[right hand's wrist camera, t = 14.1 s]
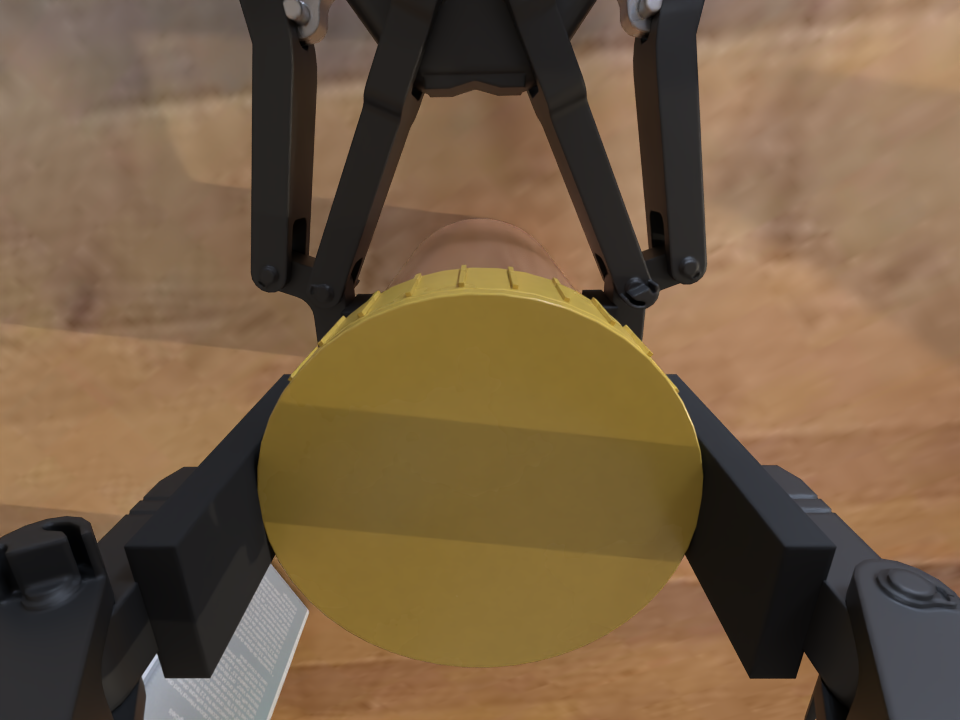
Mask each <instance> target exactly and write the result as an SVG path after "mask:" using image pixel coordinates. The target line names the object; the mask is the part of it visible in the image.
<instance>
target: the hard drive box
mask: <svg viewBox="0 0 960 720" xmlns="http://www.w3.org/2000/svg"><path fill="white" fill-rule="evenodd" d="M308 615H309V610H308V609H307V608H306V606H305V605H304V604H303V603H302V601H301V600H300V599H299V598H298V597H297V595H296V594H295V593H294V592H293V590H292V589H291V588H290V587H289V585H288V584H287V583H286V582H285V580H284V579H283V578H282V577H281V576H280V574H279V573H278V572H277V571H276V569H275V568H274V567H273V566H272V565H271V564H270V566H269V567H268V569H267V571H266V573H265V575H264V577H263V579H262V581H261V583H260V585H259V587H258V588H257V590H256V592H255V594H254V596H253V598H252V600H251V602H250V604H249V606H248V608H247V609H246V611H245V613H244V615H243V617H242V619H241V621H240V623H239V625H238V627H237V629H236V630H235V632H234V634H233V636H232V638H231V640H230V642H229V644H228V646H227V648H226V650H225V652H224V653H223V655H222V657H221V659H220V661H219V663H218V665H217V667H216V669H215V671H214V673H213V674H212V676H211V678H164V675H163V671H162V668H161V665H160V662H159V658H158V655H157V654H156V655H155V657H154V658H153V660H152V661H151V663H150V664H149V666H148V667H147V669H146V670H145V672H144V673H143V675H142V679H143V682H144V685H145V691H146V704H145V713H144V720H270V719H271V717H272V714H273V711H274V708H275V706H276V703H277V700H278V697H279V695H280V692H281V689H282V686H283V684H284V681H285V678H286V675H287V673H288V670H289V667H290V664H291V662H292V659H293V656H294V653H295V650H296V648H297V645H298V642H299V639H300V636H301V634H302V631H303V628H304V625H305V623H306V620H307V617H308Z"/></svg>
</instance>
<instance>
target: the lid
mask: <svg viewBox="0 0 960 720" xmlns="http://www.w3.org/2000/svg"><path fill="white" fill-rule="evenodd" d="M317 344H318V345H319V346H320V347H319V348H318V347H316V348H315V349H314V350H313V351H312V352H311V353H310V354H309V355H308V357H307V358H306V359H305V360H304V361H303V362H302V363H301V364H300V366H299V367H298V368H297V369H296V370H295V371H294V372H293V373H292V374H291V376H290V377H289V378H288V381H290V383H289V384H288V386H287V387H286V388H285V390H284V391H283V392H282V394H281V396H280V398H279V400H278V402H277V404H276V406H275V408H274V410H273V412H272V413H271V415H270V417H269V420H268V423H267V426H266V429H265V433H264V436H263V439H262V442H261V447H260V454H259V460H258V466H257V491H258V497H259V502H260V508H261V514H262V519H263V523H264V528H265V531H266V534H267V537H268V540H269V542H270V544H271V546H272V548H273V550H274V552H275V555H276V557H277V559H278V561H279V563H280V564H281V565H282V567H283V568H284V570H285V571H286V573H287V574H288V576H289V577H290V579H291V580H292V582H293V583H294V584H295V585H296V586H297V588H298V589H299V590H300V591H301V592H302V593H303V595H304V596H305V597H306V598H307V599H308V600H309V601H310V602H311V603H312V604H313V605H314V606H316V607H317V608H318V609H319V610H320V611H321V612H322V613H323V614H324V615H326V616H327V617H328V618H330V619H331V620H332V621H334V622H335V623H337V624H338V625H340V626H341V627H342V628H344V629H345V630H347V631H348V632H350V633H352V634H354V635H356V636H357V637H359V638H361V639H363V640H365V641H366V642H368V643H371V644H373V645H375V646H378V647H380V648H382V649H385V650H387V651H390V652H392V653H396V654H399V655H402V656H405V657H408V658H412V659H415V660H420V661H425V662H430V663H434V664H440V665H449V666H458V667H487V668H488V667H501V666H514V665H519V664H525V663H531V662H537V661H541V660H544V659H548V658H551V657H555V656H559V655H562V654H565V653H567V652H570V651H573V650H575V649H578V648H580V647H583V646H585V645H587V644H589V643H591V642H593V641H595V640H597V639H599V638H601V637H603V636H605V635H607V634H608V633H610V632H611V631H613V630H615V629H616V628H618V627H619V626H621V625H622V624H624V623H625V622H627V621H628V620H629V619H630V618H632V617H633V616H634V615H635V614H637V613H638V612H639V611H640V610H641V609H643V608H644V607H645V606H646V605H647V604H648V603H649V602H650V601H651V600H652V599H653V598H654V597H655V596H656V595H657V594H658V593H659V591H660V590H661V589H662V588H663V587H664V586H665V584H666V583H667V582H668V580H669V579H670V577H671V576H672V575H673V573H674V572H675V571H676V569H677V568H678V566H679V564H680V562H681V560H682V558H683V557H684V555H685V553H686V551H687V549H688V547H689V545H690V542H691V539H692V537H693V534H694V531H695V529H696V525H697V520H698V515H699V510H700V504H701V499H702V490H703V469H702V459H701V450H700V447H699V443H698V439H697V435H696V432H695V428H694V425H693V423H692V420H691V418H690V416H689V414H688V412H687V409H686V407H685V405H684V403H683V401H682V399H681V398H680V396H679V395H678V392H679V390H678V388H677V387H676V386H675V385H674V384H673V383H672V381H671V380H670V379H669V378H668V377H667V376H666V375H665V373H664V372H663V371H662V370H661V369H660V368H659V367H658V365H657V364H656V363H655V362H654V361H653V360H652V359H651V358H650V357H651V356H652V355H653V354H652V352H651V351H650V350H649V349H648V348H647V347H646V346H645V345H644V344H643V343H642V341H641V340H640V339H639V338H638V337H637V336H636V335H635V334H634V333H633V332H632V330H631V329H630V328H629V327H628V326H627V325H625V326H624V327H622V326H621V324H620V323H619V322H618V321H617V320H616V319H614V318H613V317H612V316H611V315H610V314H609V313H608V312H607V311H606V310H605V309H604V307H603V306H602V305H601V304H600V303H599V302H598V300H597V299H595V298H594V297H593V298H592V299H591V300H590V299H588V298H586V297H585V296H583V295H582V294H580V293H578V292H577V291H575V290H573V289H571V288H568V287H566V286H564V285H562V284H560V282H559V281H558V279H556V278H554V277H553V278H552V280H550V279H546V278H543V277H539V276H536V275H533V274H529V273H526V272H520V271H514V269H513V267H510V266H508V270H507V269H500V268H467V266H466V265H461V269H454V270H445V271H440V272H436V273H432V274H428V275H424V276H422V275H421V273H418V274H416V275H415V277H414V279H411V280H409V281H406V282H403V283H401V284H398V285H396V286H393V287H391V288H389V289H388V290H386V291H384V292H382V293H380V291H379V290H378V291H376V292H375V293H374V294H373V295H372V297H371V298H370V299H369V300H368V301H367V302H366V303H364V304H363V305H362V306H360V307H359V308H358V309H356V310H355V311H354V312H352V313H351V314H350V315H349V316H348V317H347V318H345V317H344V316H342V317H341V318H340V319H339V320H338V321H337V322H336V324H335V325H334V326H333V327H332V328H331V329H330V330H329V331H328V332H327V334H326V335H325V336H324V337H323V338H322V339H321V340H320V341H319V342H318V343H317Z"/></svg>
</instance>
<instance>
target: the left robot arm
mask: <svg viewBox="0 0 960 720" xmlns="http://www.w3.org/2000/svg"><path fill="white" fill-rule="evenodd" d="M334 1H335V0H240V4H241V7H242V10H243V14H244V17H245V20H246V24H247V27H248V30H249V34H250V37H251V41H252V44H253V56H252V190H251V276H252V280H253V282H254V283H255V285H256V286H257V287H258V288H260V289H261V290H263V291H266V292H277V291H280V292H283V293H287V294H290V295H293V296H296V297H298V298H301V299H302V300H304V301H305V302H306V303H307V304H308V305H309V306H310V307H311V309H312V311H313V314H314V319H315V326H316V334H317V341H318V342H319V341H320V340H321V339H322V338H323V337H324V336H325V335H326V334H327V332H328V331H329V330H330V329H331V328H332V327H333V326H334V325H335V324H336V322H337V321H338V320H339V319H340V318H341V317H342V316H344V317H345V318H347V317H348V316H349V315H350V314H351V313H352V312H354V311H355V310H356V309H358V308H359V307H360V306H362V305H363V304H364V303H366V302H367V301H368V300H369V299H370V298H371V297H372V295H373V294H358V295H357V296H356V297H355V293H354V288H355V287H356V286H357V284H358V283H359V281H360V280H357V279H358V277H359V274H360V271H361V268H362V265H363V262H364V259H365V256H366V254H367V251H368V248H369V245H370V242H371V239H372V236H373V233H374V231H375V228H376V225H377V222H378V219H379V216H380V213H381V210H382V208H383V205H384V202H385V199H386V196H387V193H388V190H389V187H390V185H391V182H392V179H393V176H394V173H395V170H396V167H397V164H398V161H399V159H400V156H401V153H402V150H403V147H404V144H405V141H406V138H407V136H408V133H409V130H410V127H411V125H412V124H413V122H414V120H415V118H416V115H417V113H418V110H419V107H420V104H421V101H422V99H423V96H424V93H426V94H428V95H429V96H430V97H453V96H456V95H459V94H462V93H465V92H469V91H472V90H480V91H483V92H487V93H490V94H494V95H498V96H509V95H521V94H522V92H524V91H527V93H528V96H529V98H530V101H531V103H532V106H533V108H534V111H535V113H536V115H537V117H538V119H539V121H540V122H541V124H542V126H543V129H544V131H545V134H546V136H547V139H548V141H549V144H550V146H551V149H552V151H553V154H554V156H555V159H556V162H557V164H558V167H559V169H560V172H561V174H562V177H563V179H564V182H565V184H566V187H567V189H568V192H569V195H570V197H571V200H572V202H573V205H574V207H575V210H576V212H577V215H578V217H579V220H580V222H581V225H582V228H583V230H584V233H585V235H586V238H587V240H588V243H589V245H590V248H591V250H592V253H593V255H594V258H595V261H596V263H597V266H598V268H599V271H600V273H601V276H602V278H603V280H604V282H605V284H604V292H603V291H602V290H582V295H583V296H585V297H586V298H588V299H590V300H591V299H592V298H593V297H594V298H595V299H597V300H598V302H599V303H600V304H601V305H602V306H603V307H604V309H605V310H606V311H607V312H608V313H609V314H610V315H611V316H612V317H613V318H614V319H616V320H617V321H618V322H619V323H620V324H621V326H622V327H624V326H625V325H627V326H628V327H629V328H630V329H631V330H632V332H633V333H634V334H635V335H636V336H637V337H638V338H639V339H640V340H641V341H642V337H643V327H644V317H645V309H646V308H648V307H650V306H651V305H653V304H654V303H655V301H656V300H657V299H658V295H659V292H660V290H663V289H665V288H668V287H671V286H674V285H676V284H679V283H681V284H692V283H695V282H697V281H698V280H699V279H701V278H702V277H703V275H704V273H705V271H706V267H707V254H706V233H705V212H704V191H703V171H702V150H701V129H700V108H699V87H698V67H697V46H696V33H697V29H698V25H699V21H700V17H701V13H702V9H703V5H704V1H705V0H617V1H618V4H619V7H620V22H621V26H622V28H623V29H624V31H625V32H626V33H627V34H628V35H630V36H633V37H635V43H634V55H633V71H634V85H635V97H636V108H637V119H638V131H639V142H640V154H641V165H642V176H643V188H644V199H645V210H646V222H647V233H648V245H649V249H648V250H645V251H642V252H641V249H640V246H639V243H638V241H637V238H636V235H635V232H634V230H633V227H632V224H631V221H630V218H629V216H628V213H627V210H626V207H625V205H624V202H623V199H622V196H621V193H620V191H619V188H618V185H617V182H616V180H615V177H614V174H613V171H612V168H611V166H610V163H609V160H608V157H607V154H606V152H605V149H604V146H603V143H602V141H601V138H600V135H599V132H598V129H597V127H596V124H595V121H594V118H593V116H592V113H591V110H590V107H589V104H588V101H587V94H586V87H585V83H584V80H583V76H582V74H581V71H580V68H579V65H578V62H577V60H576V57H575V54H574V51H573V48H572V46H571V43H570V40H571V39H572V37H573V36H574V34H575V33H576V31H577V29H578V28H579V26H580V25H581V23H582V22H583V20H584V19H585V17H586V16H587V14H588V13H589V11H590V10H591V8H592V7H593V5H594V4H595V2H596V0H347V2H348V3H349V5H350V6H351V7H352V9H353V10H354V12H355V13H356V14H357V16H358V17H359V19H360V20H361V21H362V23H363V24H364V26H365V27H366V28H367V30H368V31H369V33H370V34H371V35H372V37H373V38H374V40H375V41H376V42H377V44H378V47H377V50H376V53H375V56H374V60H373V63H372V66H371V69H370V73H369V76H368V79H367V82H366V86H365V90H364V103H363V108H362V112H361V115H360V118H359V121H358V124H357V128H356V131H355V134H354V137H353V140H352V144H351V147H350V150H349V153H348V156H347V160H346V163H345V166H344V169H343V172H342V176H341V179H340V182H339V185H338V188H337V191H336V195H335V198H334V201H333V204H332V207H331V211H330V214H329V217H328V220H327V223H326V227H325V230H324V233H323V236H322V239H321V243H320V246H319V249H318V252H317V255H316V258H314V257H311V256H309V240H310V219H311V198H312V177H313V156H314V135H315V114H316V93H317V63H316V54H315V48H314V44H315V43H318V42H320V41H321V40H322V39H323V38H324V37H325V35H326V33H327V29H328V11H329V8H330V6H331V4H332V3H333V2H334ZM319 347H320V346H319V345H318V348H319Z"/></svg>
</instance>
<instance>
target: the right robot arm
mask: <svg viewBox="0 0 960 720" xmlns="http://www.w3.org/2000/svg"><path fill="white" fill-rule="evenodd" d="M665 375H666V376H667V377H668V378H669V379H670V380H671V381H672V383H673V384H674V385H675V386H676V387H677V388H678V390H679V392H678V395H679V396H680V398H681V399H682V401H683V403H684V405H685V407H686V409H687V412H688V414H689V416H690V418H691V420H692V423H693V425H694V428H695V432H696V435H697V439H698V443H699V447H700V450H701V459H702V469H703V490H702V499H701V504H700V510H699V515H698V520H697V525H696V529H695V531H694V534H693V537H692V539H691V542H690V545H689V547H688V549H687V551H686V553H685V555H686V557H687V559H688V561H689V563H690V565H691V567H692V569H693V571H694V573H695V575H696V576H697V578H698V580H699V582H700V584H701V586H702V588H703V590H704V592H705V594H706V596H707V597H708V599H709V601H710V603H711V605H712V607H713V609H714V611H715V613H716V615H717V617H718V618H719V620H720V622H721V624H722V626H723V628H724V630H725V632H726V634H727V636H728V638H729V639H730V641H731V643H732V645H733V647H734V649H735V651H736V653H737V655H738V657H739V659H740V660H741V662H742V664H743V666H744V668H745V670H746V672H747V674H748V676H749V678H750V679H796V676H797V673H798V669H799V666H800V663H801V660H802V657H803V653H804V652H805V654H806V655H807V657H808V658H809V660H810V661H811V663H812V664H813V666H814V667H815V669H816V670H817V672H818V673H819V676H818V679H817V682H816V685H815V688H814V691H813V694H812V697H811V700H810V703H809V706H808V709H807V712H806V715H805V719H804V720H815V719H816V720H960V598H959V597H958V596H957V594H956V593H955V592H954V591H952V590H951V589H950V588H949V587H947V586H946V585H945V584H943V583H942V582H941V581H940V580H938V579H936V578H935V577H933V576H931V575H929V574H927V573H925V572H923V571H922V570H920V569H918V568H915V567H912V566H909V565H906V564H904V563H901V562H898V561H892V560H886V559H881V558H880V557H879V556H878V555H877V554H876V553H875V552H874V551H873V550H872V549H871V548H870V547H869V546H868V545H867V544H866V543H865V542H864V541H863V540H862V539H861V538H860V537H859V536H858V535H857V534H856V533H855V532H854V531H853V530H852V529H851V528H850V527H849V526H848V525H847V524H846V523H845V522H844V521H843V520H842V519H841V518H840V517H839V516H838V515H837V514H836V513H832V512H831V508H830V507H829V506H828V505H826V504H825V503H824V502H823V501H822V500H821V499H818V498H817V495H816V494H815V493H814V492H813V491H812V490H811V489H810V488H809V487H808V486H807V485H806V484H805V483H804V482H803V481H802V480H801V479H800V478H798V477H796V476H794V475H793V474H791V473H789V472H788V471H786V470H784V469H782V468H781V467H779V466H777V465H760V464H759V462H758V461H757V460H756V459H755V458H754V457H753V456H752V455H751V454H750V453H749V452H748V451H747V450H746V449H745V447H744V446H743V445H742V444H741V443H740V442H739V441H738V440H737V439H736V438H735V437H734V436H733V435H732V433H731V432H730V431H729V430H728V429H727V428H726V427H725V426H724V425H723V424H722V423H721V422H720V421H719V420H718V418H717V417H716V416H715V415H714V414H713V413H712V412H711V411H710V410H709V409H708V408H707V407H706V406H705V405H704V403H703V402H702V401H701V400H700V399H699V398H698V397H697V396H696V395H695V394H694V393H693V392H692V391H691V389H690V388H689V387H688V386H687V385H686V384H685V383H684V382H683V381H682V380H681V379H680V378H679V377H678V376H677V374H665ZM290 376H291V374H284V375H283V376H282V377H281V378H280V379H279V380H278V381H277V382H276V383H275V384H274V386H273V387H272V388H271V389H270V390H269V391H268V392H267V393H266V394H265V395H264V396H263V397H262V398H261V399H260V401H259V402H258V403H257V404H256V405H255V406H254V407H253V408H252V409H251V410H250V411H249V412H248V413H247V415H246V416H245V417H244V418H243V419H242V420H241V421H240V422H239V423H238V424H237V425H236V426H235V427H234V428H233V430H232V431H231V432H230V433H229V434H228V435H227V436H226V437H225V438H224V439H223V440H222V441H221V442H220V444H219V445H218V446H217V447H216V448H215V449H214V450H213V451H212V452H211V453H210V454H209V455H208V456H207V457H206V459H205V460H204V461H203V462H202V463H201V464H200V465H199V466H198V467H183V468H181V469H179V470H178V471H176V472H174V473H173V474H171V475H169V476H168V477H166V478H164V479H162V480H161V481H159V482H158V483H157V484H156V485H155V486H154V487H153V488H152V489H151V490H150V491H149V492H148V493H147V494H146V495H145V496H144V497H143V498H144V499H143V501H139V502H138V503H137V504H136V505H135V506H134V507H133V508H132V509H131V510H130V513H129V515H125V516H124V517H123V518H122V519H121V520H120V521H119V522H118V523H117V524H116V525H115V526H114V527H113V528H112V529H111V530H110V531H109V532H108V533H107V534H106V535H105V536H104V537H103V538H102V539H101V540H100V541H99V542H98V543H97V541H96V538H95V535H94V532H93V529H92V526H91V523H90V522H88V521H86V520H85V519H83V518H82V517H70V516H64V517H57V518H51V519H45V520H42V521H39V522H36V523H33V524H29V525H26V526H24V527H22V528H19V529H17V530H15V531H13V532H11V533H9V534H7V535H5V536H3V537H1V538H0V720H144V713H145V704H146V691H145V685H144V682H143V679H142V675H143V673H144V672H145V670H146V669H147V667H148V666H149V664H150V663H151V661H152V660H153V658H154V657H155V655H156V654H157V655H158V658H159V662H160V665H161V668H162V671H163V675H164V678H211V676H212V674H213V673H214V671H215V669H216V667H217V665H218V663H219V661H220V659H221V657H222V655H223V653H224V652H225V650H226V648H227V646H228V644H229V642H230V640H231V638H232V636H233V634H234V632H235V630H236V629H237V627H238V625H239V623H240V621H241V619H242V617H243V615H244V613H245V611H246V609H247V608H248V606H249V604H250V602H251V600H252V598H253V596H254V594H255V592H256V590H257V588H258V587H259V585H260V583H261V581H262V579H263V577H264V575H265V573H266V571H267V569H268V567H269V566H270V564H271V562H272V560H273V558H274V556H275V552H274V550H273V548H272V546H271V544H270V542H269V540H268V537H267V534H266V531H265V528H264V523H263V519H262V514H261V508H260V502H259V497H258V491H257V466H258V460H259V454H260V447H261V442H262V439H263V436H264V433H265V429H266V426H267V423H268V420H269V417H270V415H271V413H272V412H273V410H274V408H275V406H276V404H277V402H278V400H279V398H280V396H281V394H282V392H283V391H284V390H285V388H286V387H287V386H288V384H289V383H290V381H288V378H289V377H290Z"/></svg>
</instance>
